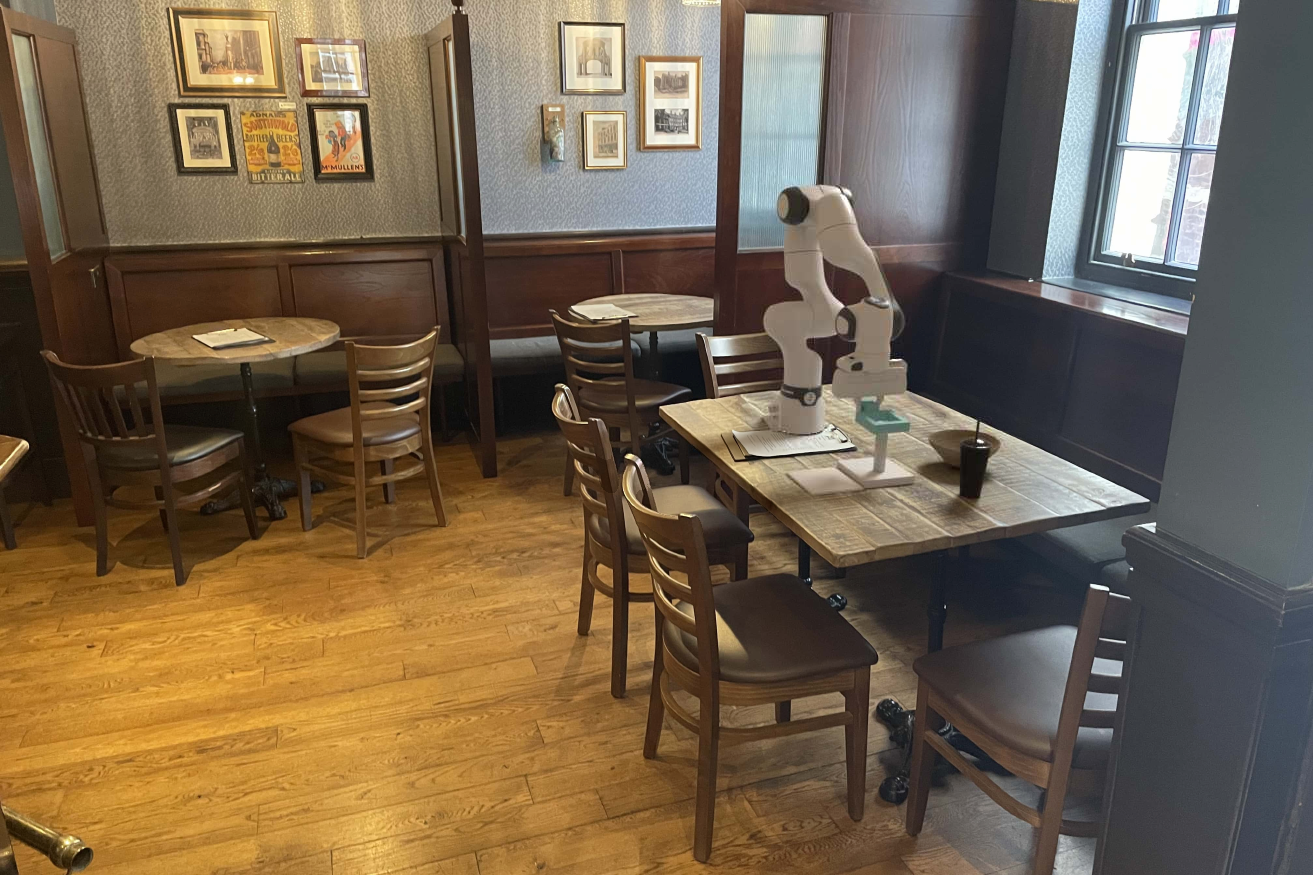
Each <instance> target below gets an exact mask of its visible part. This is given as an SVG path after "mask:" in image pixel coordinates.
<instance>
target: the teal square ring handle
mask: <svg viewBox="0 0 1313 875" xmlns="http://www.w3.org/2000/svg"><path fill="white" fill-rule="evenodd" d="M859 402H860V404H861V405H862V406H864V412H856V411H855V418H854V422H855V423H856V424H858V425H859V426H862V428H864V429H865V430H866V431H868V432H870V433H871V434H872V435H876V434H885V433H887V434H895V433H905V432H906V433H907V432H910V429H911V428H910V427H911V422H910V421H909V420H908V419H906V418H904V417H903V416H901V415H900V414H899V413H897V412H895V411H894V410H893V409H880V406H879V404H877V403H875V401H873V400H872V399H871V398H870V397H862V398H861V401H859Z"/></svg>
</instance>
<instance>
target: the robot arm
mask: <svg viewBox="0 0 1313 875" xmlns="http://www.w3.org/2000/svg"><path fill="white" fill-rule="evenodd" d="M776 212H777V216H778V218H779V219H780V221H781V222H782V223H783V224H785V230H784V241H783V242H784V243H783V255H784V257H783V258H784V259H783V260H784V278H785V281H786V282H787V284H789V285H790V287H792V288H793V289H794V288H795V289H796V290H798V291H799V292H800V294H801V296H802V299H803V300H798V301H797V300H796V301H794V300H793V301H782V302H779V303H775V304H771V305H770V306H769V307H768V308H767V309H766V310H765V312H764V316H763V320H762V321H763V327H764V330H765V333H767V335H768V336H769V337H771V338H772V339H773V340H774V341H775V342H776V343H777V344H778V346H779V348H780V350H781V352H782V357H783V364H784V365H783V368H784V369H783V371H784V372H783V381H782V383H781V387H780V394H778V395H776V397H775V398H773V400H771V403H770V404H769V405H768V407H767V408H768V409H767V410H768V412H767V413H764V414H762V419H763V420H764V422H765V423H766V426H768V428H769V430H770V431H771V432H777V431H785V432H789V433H796V434H795V435H798V434H809V433H816V432H820V431H822V430H823V429H824V430H825V429H826V428H829V427H830V426H829V424H830V423H829V422H828V421H826V401H825V400H824V399H823V398H822V395H823V384H822V372H823V370H822V369H823V361H822V358H821V356H820V355H819V354H818V353H817V352H816V351H814V350H812V349H810V348H809V347H808V346H807V340H808V339H813V338H814V339H818V338H828V337H833V336H836V335H838V337H839V338H840V339H842V341H846V342H850V343H851V342H855V343H856V345H855V348H854V349H855V350H854V352H851V353H849V354H847V355H845V356H841V357H840V358H838V359H837V360H836V366H837V367H838V368H837V369H835V371H834V374H833V378H832V383H831V394H832V395H833V396H834V397H835V398H837V399H840V400H841V399H852V401H853V402H854V405H855V413H856V412H864V406H862V405H861V404H860V402H859V401H861V398H870V397H875V398H876V400H875V401H874V402H875V403H877V404H879V407H880V406H881V404H882V403H883V402H884V400H885V396H892V395H893V396H895V395H896V396H897V395H903V394H905V392H906V391H907V384H908V383H907V381H908V380H907V379H908V378H907V372H908V363H907V362H906V360H904V359H901V358H898V359H890V358H891V346H890V345H891V343H890V342H892V341H895V340H896V339H897V338H898V337H899V336H900V335H901V333H902V332H903V330H904V328H905V325H906V320H905V316H904V315H905V314H904V312H903V310H902V309H901V307H900V305H899V303H898V302H897V301H896V299H895V296H894V293H893V291H892V288H891V286H890V284H889V281H888V278H887V276H886V274H885V272H884V269H883V266H882V264H881V261H880V259H879V257H878V255H877V253H876V252H875V251H874V250H873V249H872V248H871V247H869V246H868V245H867V243H866V242H865V241H864V239H863V237H862V235H861V233H860V230H859V226H858V222H857V219H856V216H855V213H854V197H853V194H852V193H851V190H850V189H848V188H846V187H844V186H840V185H834V186H833V185H827V184H815V185H804V186H790V187H786V188H784V189H783V190H781V192H780V193H779V195H778V198H777V201H776ZM823 258H824V259H825V261H827V262H828V263H830V264H831V265H833V266H836V267H838V268H840V269H841V268H842V269H845V270H847V271H850V272H852V273H855V274H856V275H858V276H860V278H862V280H863V281H864V282H865V285H866V287H867V289H868V291H869V294H870V296H866V297H864V298H862V299H861V300H860V302H858V303H856V304H851V305H847V306H845V305H844V304H843V303H842V302H841V301H839V300H838V299H837V298H836V297H835V296H834V295H833V294H832V292H831V290H830V289H829V286H828V285H827V282H826V279H825V272H824V271H825V270H824V260H823ZM825 427H826V428H825ZM824 430H823V431H824ZM823 431H822V432H823ZM785 432H784V433H785ZM789 433H788V434H789ZM820 433H821V432H820ZM816 434H817V433H816ZM809 435H810V434H809Z"/></svg>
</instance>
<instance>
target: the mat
mask: <svg viewBox="0 0 1313 875" xmlns="http://www.w3.org/2000/svg"><path fill="white" fill-rule="evenodd" d="M786 475H787V476H788V477H790V478H791V480H793V481H794V482H795V483H796V484H797V485H799V486H800V487H801V488H803V489H804V490H805V491H806V492H808V493H809V495H811V496H821V495H830V494H838V493H839V494H840V493H849V492H857V491H858V492H859V491H864V487H862V486H861V485H860V484H858V483H857V482H856V481H854V480H853V479H852V478H850V477H849V476H847V475H846V474H845V473H843V472H842V471H841V470H839V469H838V468H837V466H836V467H835V466H834V467H832V466H829V467H821V468H813V469H811V468H810V469H801V470H791V471H786Z"/></svg>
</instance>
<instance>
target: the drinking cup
mask: <svg viewBox="0 0 1313 875" xmlns="http://www.w3.org/2000/svg"><path fill="white" fill-rule="evenodd" d="M980 424H981V417H977V419H976V427H975V431H976V435H975V437H970V438H966V439H962V440H960V442H959V444H960V468H959V495H960V496H961V497H962V498H964V499H965V498H966V499H972V500H973V499H975V500H976V499H979V498H981V494H982V493H981V492H982V488H983V484H984V481H985V477H986V475H985V474H986V471H987V467H988V463H989V459H990V458H989V454H990V450H991V448H992V443H991V442H989V441H987V440H985V439H982V438H978V434H979V432H980Z"/></svg>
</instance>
